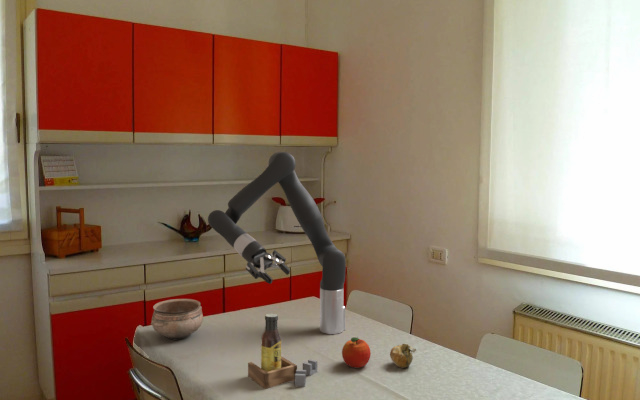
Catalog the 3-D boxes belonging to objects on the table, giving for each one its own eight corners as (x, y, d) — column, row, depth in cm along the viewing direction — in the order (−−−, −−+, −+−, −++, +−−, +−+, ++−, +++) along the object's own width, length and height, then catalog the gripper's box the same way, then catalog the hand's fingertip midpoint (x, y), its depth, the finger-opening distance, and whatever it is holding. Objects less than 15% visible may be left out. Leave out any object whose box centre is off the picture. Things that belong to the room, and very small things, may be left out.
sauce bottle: (277, 382, 165) (277, 319, 163) (258, 380, 166) (258, 317, 165) (283, 373, 172) (283, 313, 170) (264, 371, 173) (264, 311, 171)
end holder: (278, 368, 176) (278, 354, 175) (297, 379, 167) (297, 365, 167) (248, 376, 169) (248, 362, 169) (265, 388, 161) (265, 374, 160)
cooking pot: (171, 351, 189) (170, 318, 188) (134, 342, 199) (133, 309, 198) (218, 331, 211) (218, 300, 210) (183, 323, 220) (182, 294, 219)
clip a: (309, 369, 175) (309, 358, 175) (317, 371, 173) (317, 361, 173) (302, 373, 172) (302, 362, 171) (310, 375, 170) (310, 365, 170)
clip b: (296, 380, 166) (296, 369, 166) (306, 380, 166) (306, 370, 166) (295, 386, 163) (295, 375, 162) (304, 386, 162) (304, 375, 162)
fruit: (374, 362, 181) (375, 333, 180) (364, 373, 172) (365, 342, 171) (348, 357, 185) (348, 329, 184) (337, 367, 176) (337, 338, 175)
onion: (407, 360, 183) (408, 337, 182) (416, 369, 175) (417, 345, 175) (386, 361, 182) (386, 339, 181) (394, 371, 174) (395, 347, 173)
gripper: (236, 247, 183) (268, 277, 176) (266, 234, 193) (297, 262, 186) (232, 263, 187) (262, 293, 180) (261, 250, 197) (291, 277, 190)
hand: (280, 277), depth 183 cm, fingers open, 8 cm apart
